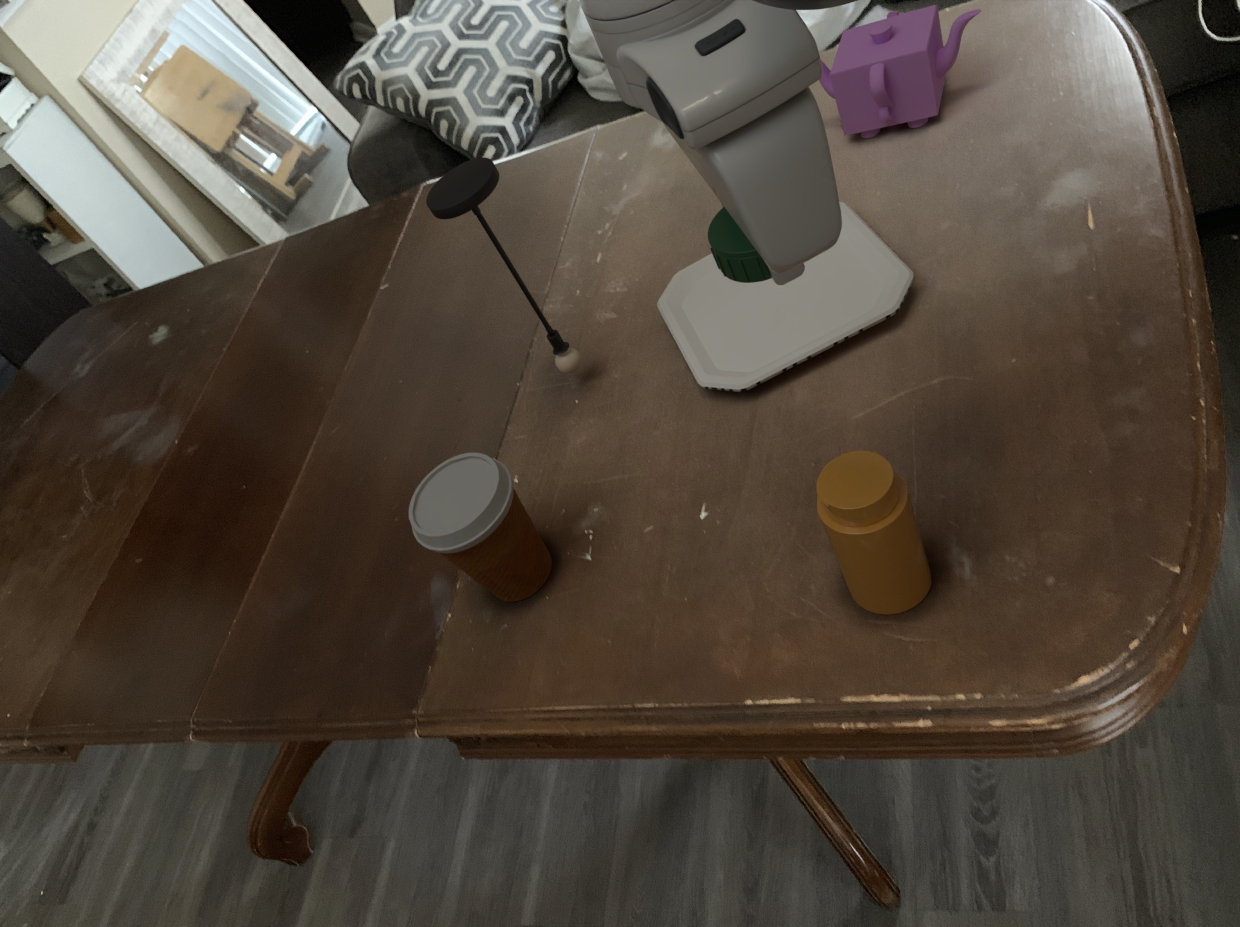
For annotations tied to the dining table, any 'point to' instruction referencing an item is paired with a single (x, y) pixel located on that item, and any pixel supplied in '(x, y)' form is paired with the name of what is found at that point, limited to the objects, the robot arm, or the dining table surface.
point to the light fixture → (490, 232)
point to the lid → (734, 251)
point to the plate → (782, 309)
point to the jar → (873, 532)
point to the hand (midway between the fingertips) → (764, 245)
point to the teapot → (892, 70)
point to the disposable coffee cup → (480, 525)
